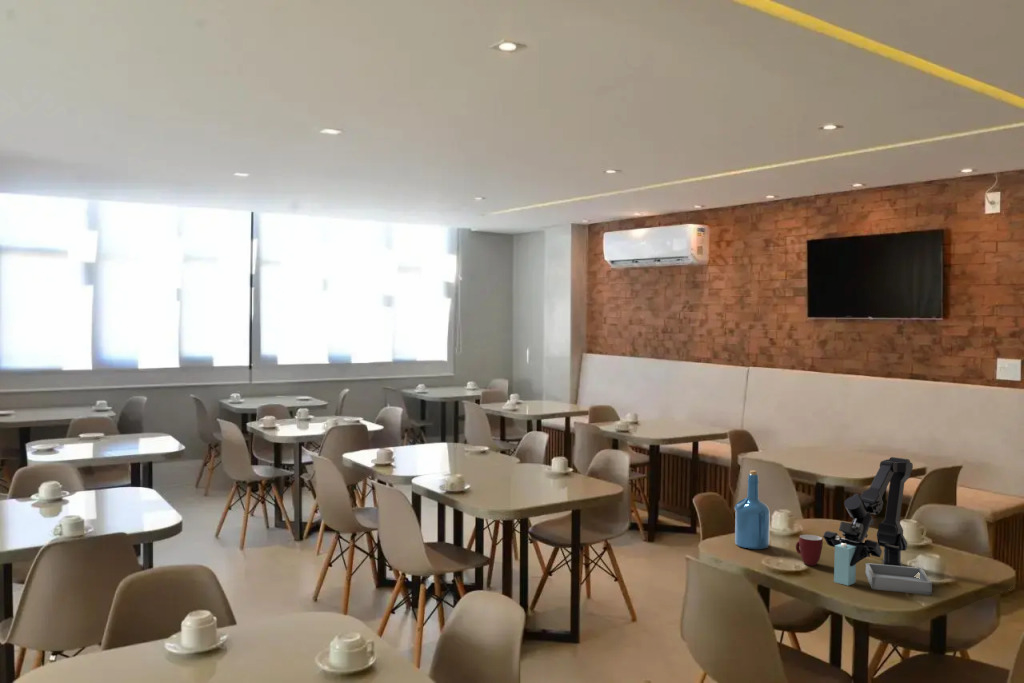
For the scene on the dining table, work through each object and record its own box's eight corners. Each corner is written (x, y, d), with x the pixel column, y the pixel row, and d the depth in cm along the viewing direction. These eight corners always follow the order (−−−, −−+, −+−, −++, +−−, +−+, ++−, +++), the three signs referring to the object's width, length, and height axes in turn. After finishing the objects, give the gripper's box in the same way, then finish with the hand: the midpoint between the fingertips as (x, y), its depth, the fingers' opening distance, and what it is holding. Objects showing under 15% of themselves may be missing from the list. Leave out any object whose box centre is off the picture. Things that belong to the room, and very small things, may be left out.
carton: (841, 579, 274) (842, 540, 274) (855, 582, 270) (856, 543, 270) (834, 581, 271) (834, 542, 271) (848, 585, 267) (848, 546, 267)
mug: (788, 561, 294) (788, 535, 294) (801, 558, 299) (801, 531, 299) (813, 568, 286) (814, 541, 285) (826, 565, 290) (827, 538, 290)
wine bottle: (766, 542, 321) (767, 468, 320) (772, 551, 308) (773, 474, 307) (731, 540, 323) (732, 467, 322) (736, 549, 310) (737, 473, 309)
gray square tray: (865, 574, 280) (865, 562, 280) (921, 579, 275) (921, 568, 275) (871, 589, 264) (872, 577, 264) (931, 595, 259) (932, 583, 259)
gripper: (826, 508, 280) (809, 544, 273) (878, 518, 266) (861, 556, 259) (837, 526, 285) (820, 562, 278) (889, 537, 271) (872, 575, 264)
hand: (843, 563), depth 270 cm, fingers closed on carton, 5 cm apart
